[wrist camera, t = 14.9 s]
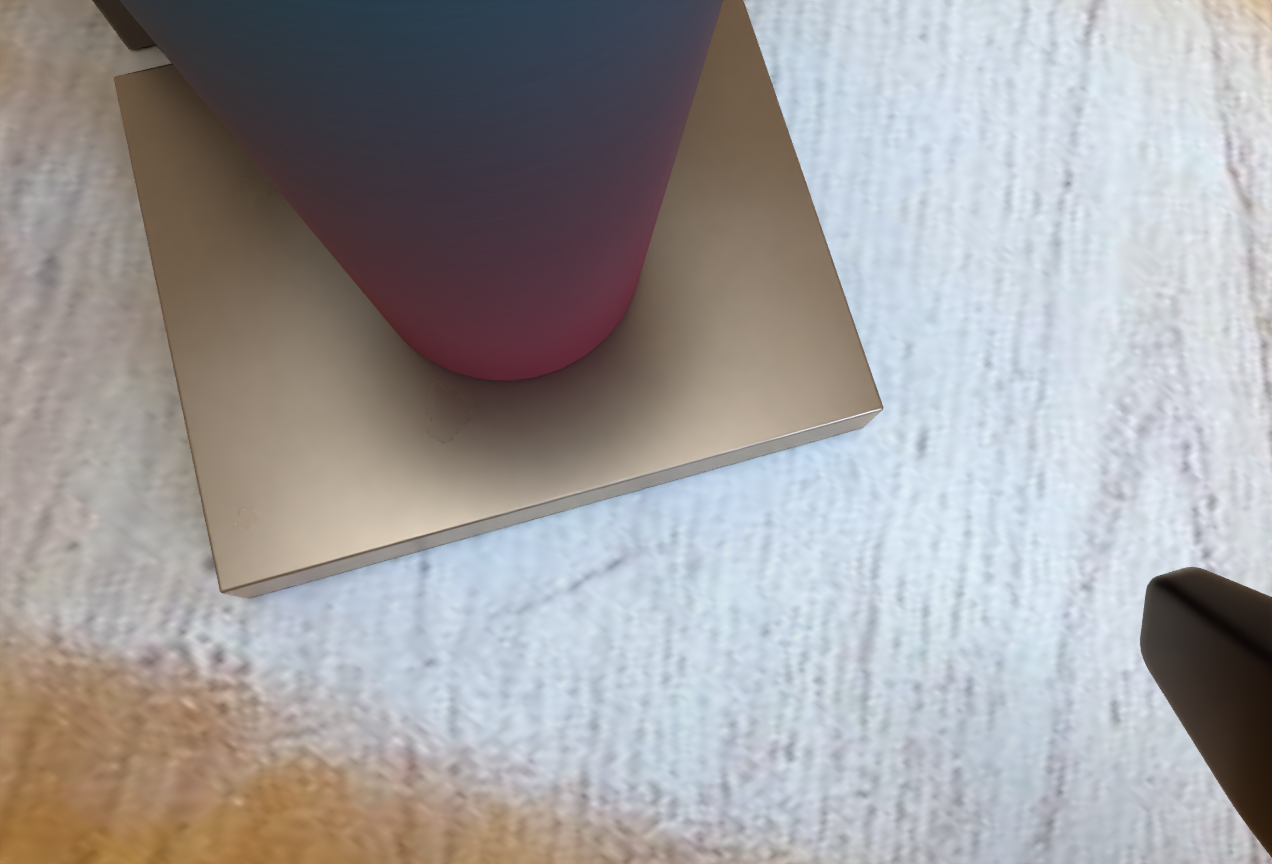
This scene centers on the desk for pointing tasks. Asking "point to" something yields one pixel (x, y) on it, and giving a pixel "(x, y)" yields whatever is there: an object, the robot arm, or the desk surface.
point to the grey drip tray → (469, 407)
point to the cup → (460, 151)
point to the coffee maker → (124, 24)
